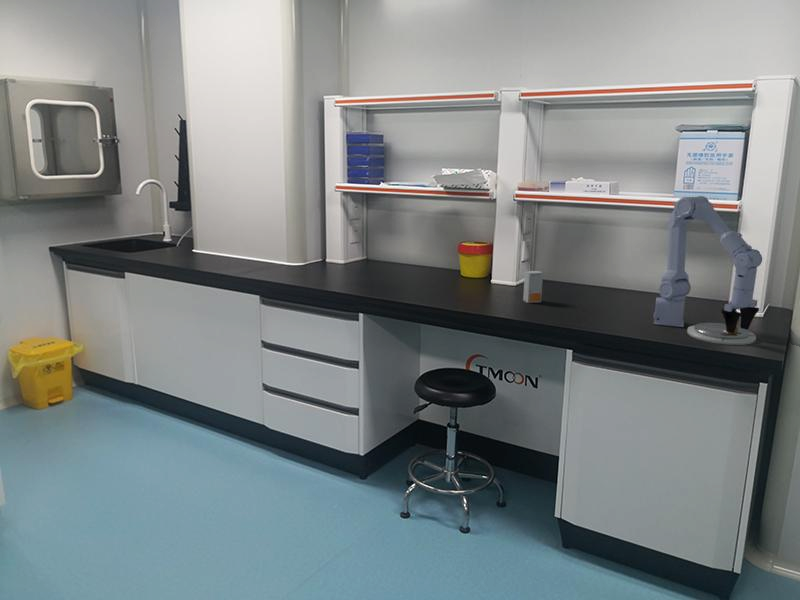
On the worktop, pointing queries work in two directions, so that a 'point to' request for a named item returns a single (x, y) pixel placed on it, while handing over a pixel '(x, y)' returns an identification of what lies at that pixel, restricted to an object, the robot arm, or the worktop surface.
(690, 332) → the dial plate
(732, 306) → the robot arm
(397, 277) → the worktop surface
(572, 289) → the worktop surface
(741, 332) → the dial
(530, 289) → the skincare box
